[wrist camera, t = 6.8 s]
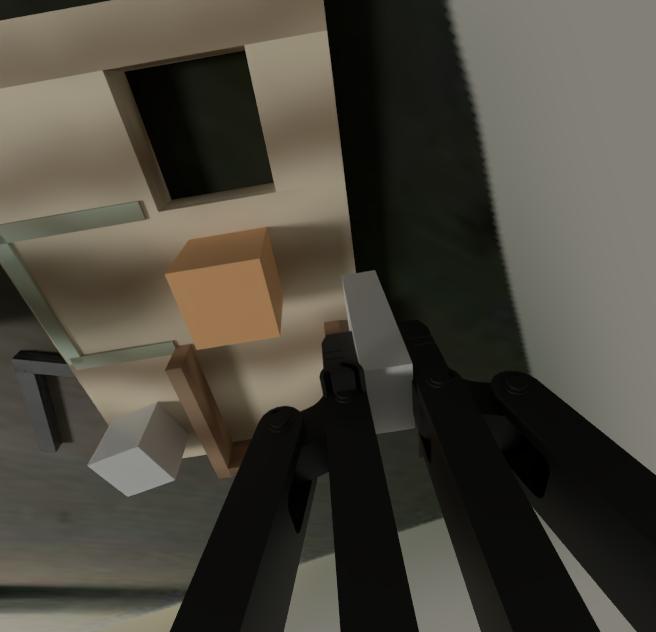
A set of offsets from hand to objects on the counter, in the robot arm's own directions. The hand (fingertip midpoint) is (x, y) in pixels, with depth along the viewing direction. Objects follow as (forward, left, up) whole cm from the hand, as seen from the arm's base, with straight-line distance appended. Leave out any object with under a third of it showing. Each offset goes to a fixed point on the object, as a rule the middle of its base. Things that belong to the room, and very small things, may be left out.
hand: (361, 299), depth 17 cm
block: (+12, -17, -6) cm, 21 cm away
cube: (0, -7, -6) cm, 9 cm away
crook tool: (+10, -24, -9) cm, 28 cm away
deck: (+2, -10, -9) cm, 13 cm away
